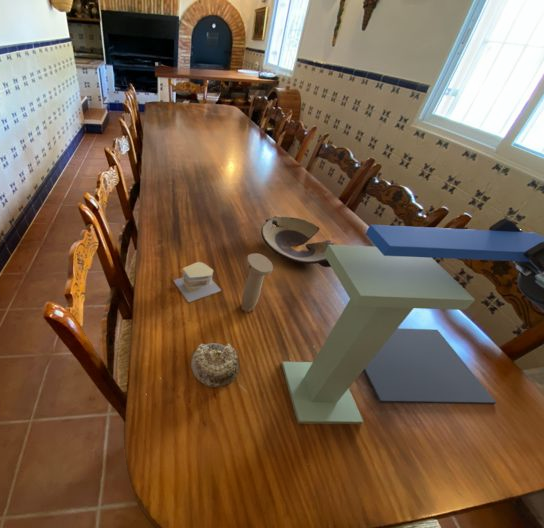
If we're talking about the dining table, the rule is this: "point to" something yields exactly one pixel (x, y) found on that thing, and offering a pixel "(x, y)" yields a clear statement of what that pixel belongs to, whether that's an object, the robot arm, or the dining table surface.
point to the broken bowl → (294, 240)
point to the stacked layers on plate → (197, 282)
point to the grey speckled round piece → (215, 364)
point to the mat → (423, 371)
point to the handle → (255, 279)
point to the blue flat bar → (452, 243)
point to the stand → (365, 326)
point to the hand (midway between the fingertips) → (516, 236)
